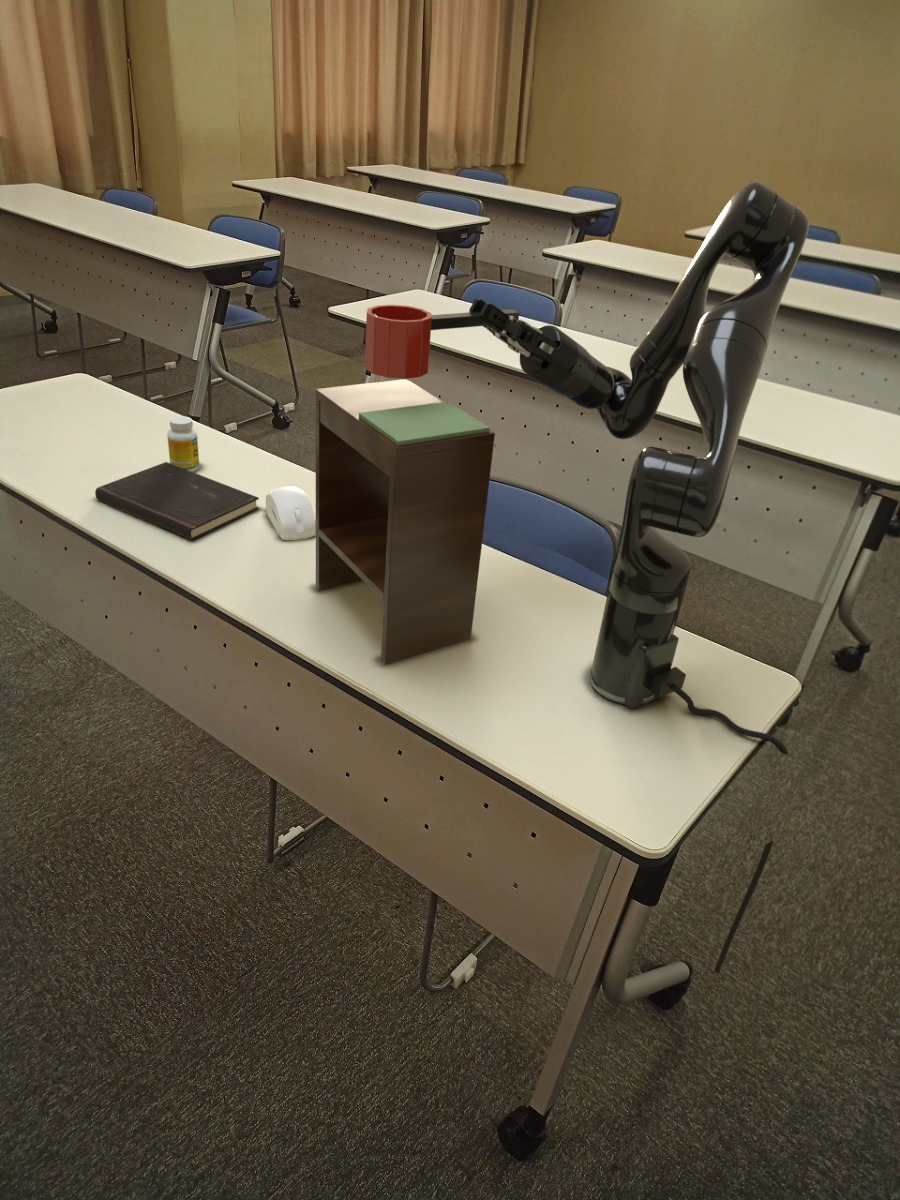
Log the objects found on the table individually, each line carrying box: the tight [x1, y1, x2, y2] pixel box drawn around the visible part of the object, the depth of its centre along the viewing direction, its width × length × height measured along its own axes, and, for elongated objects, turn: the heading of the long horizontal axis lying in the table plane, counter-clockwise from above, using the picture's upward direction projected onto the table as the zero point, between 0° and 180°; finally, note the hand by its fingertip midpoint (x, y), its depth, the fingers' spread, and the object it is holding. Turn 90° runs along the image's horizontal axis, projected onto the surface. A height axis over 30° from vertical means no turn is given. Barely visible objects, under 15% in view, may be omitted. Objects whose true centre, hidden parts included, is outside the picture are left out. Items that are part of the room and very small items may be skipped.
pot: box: [364, 304, 520, 380], centre depth 110 cm, size 8×22×7 cm, turn 122°
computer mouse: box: [265, 485, 316, 541], centre depth 144 cm, size 6×13×6 cm, turn 24°
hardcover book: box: [94, 461, 260, 541], centre depth 148 cm, size 16×23×2 cm
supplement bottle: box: [166, 415, 200, 472], centre depth 159 cm, size 5×5×10 cm
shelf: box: [315, 379, 496, 665], centre depth 117 cm, size 22×14×31 cm, turn 32°
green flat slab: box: [359, 401, 491, 446], centre depth 105 cm, size 10×13×1 cm
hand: (479, 307), depth 111 cm, fingers closed on pot
